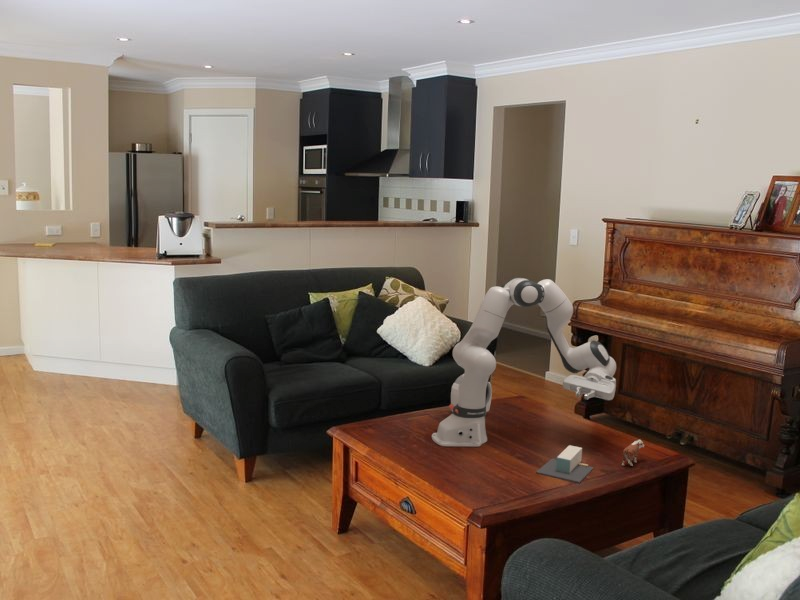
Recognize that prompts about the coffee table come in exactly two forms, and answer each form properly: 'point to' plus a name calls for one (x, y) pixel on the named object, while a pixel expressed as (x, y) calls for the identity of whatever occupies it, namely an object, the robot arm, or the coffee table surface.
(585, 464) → the oak stop strip
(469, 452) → the coffee table surface
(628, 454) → the bull figurine
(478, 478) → the coffee table surface
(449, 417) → the robot arm
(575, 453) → the cream block
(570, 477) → the charcoal rubber mat
